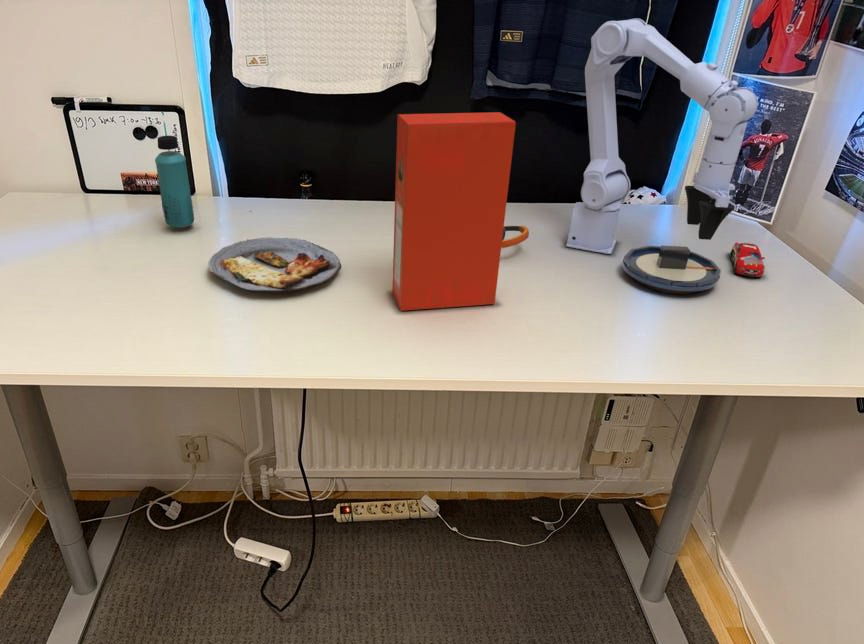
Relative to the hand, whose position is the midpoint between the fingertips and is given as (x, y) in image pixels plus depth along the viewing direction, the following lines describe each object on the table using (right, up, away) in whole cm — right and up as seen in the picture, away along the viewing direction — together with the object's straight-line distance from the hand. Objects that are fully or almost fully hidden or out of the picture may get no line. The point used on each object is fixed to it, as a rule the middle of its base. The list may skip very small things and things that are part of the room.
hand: (698, 231), depth 130 cm
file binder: (-50, -14, -5) cm, 52 cm away
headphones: (-39, -1, +16) cm, 43 cm away
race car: (+14, -6, +10) cm, 18 cm away
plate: (-4, -7, +3) cm, 9 cm away
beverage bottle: (-106, +4, +21) cm, 108 cm away
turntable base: (-4, -9, +4) cm, 10 cm away
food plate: (-81, -8, +2) cm, 82 cm away
